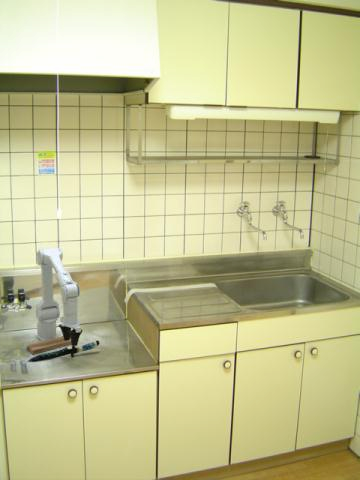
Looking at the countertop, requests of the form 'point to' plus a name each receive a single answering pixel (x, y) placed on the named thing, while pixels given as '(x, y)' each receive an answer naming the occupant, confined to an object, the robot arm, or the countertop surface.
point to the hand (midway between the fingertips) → (70, 343)
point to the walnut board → (48, 345)
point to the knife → (65, 352)
